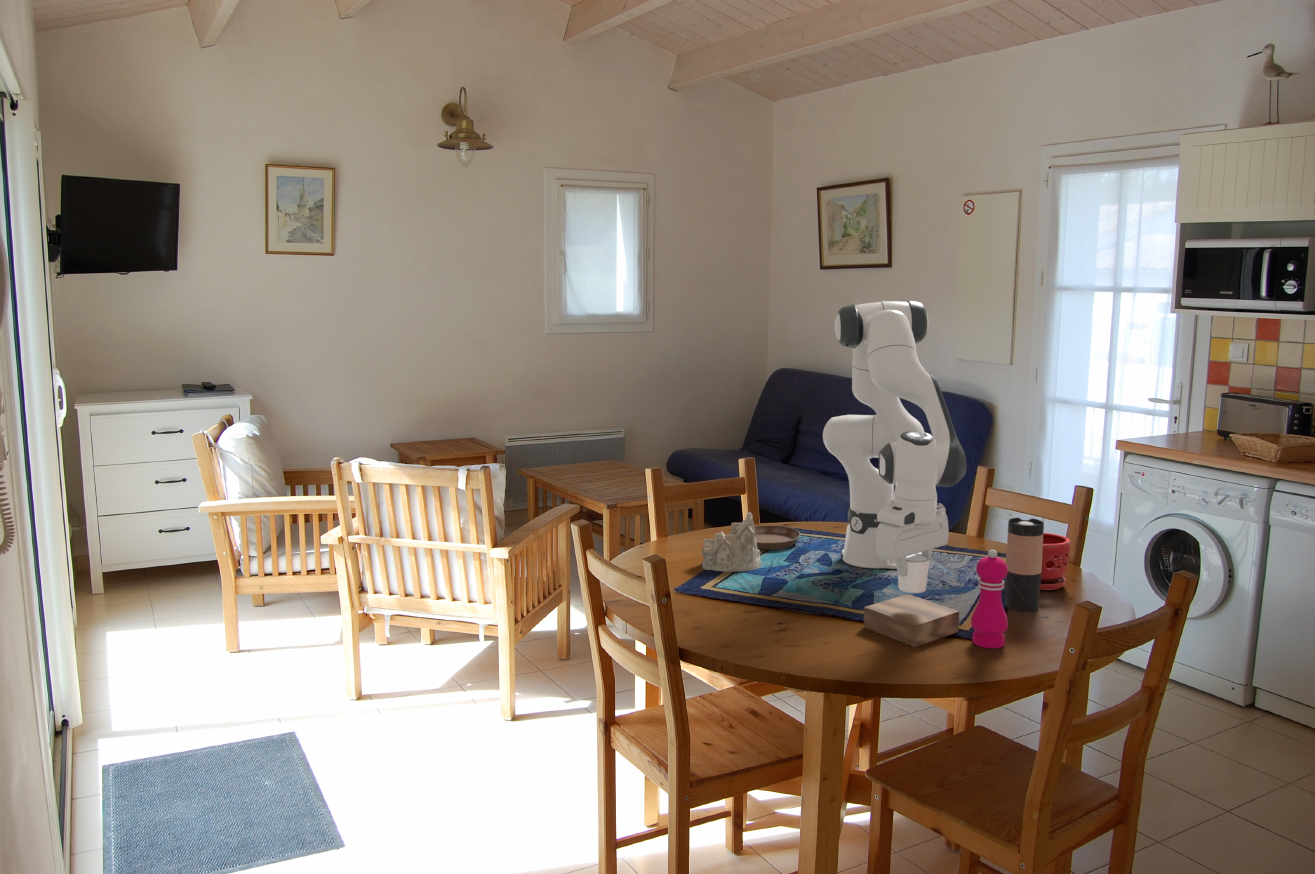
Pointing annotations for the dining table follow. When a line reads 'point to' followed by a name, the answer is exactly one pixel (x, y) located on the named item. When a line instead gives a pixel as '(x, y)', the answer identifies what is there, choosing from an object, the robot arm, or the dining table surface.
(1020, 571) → the travel mug
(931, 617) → the walnut base block
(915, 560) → the white cup
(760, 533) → the plant saucer
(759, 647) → the dining table surface
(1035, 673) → the dining table surface
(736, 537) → the ceramic cottage
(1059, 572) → the plant pot
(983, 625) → the pepper mill
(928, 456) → the robot arm
